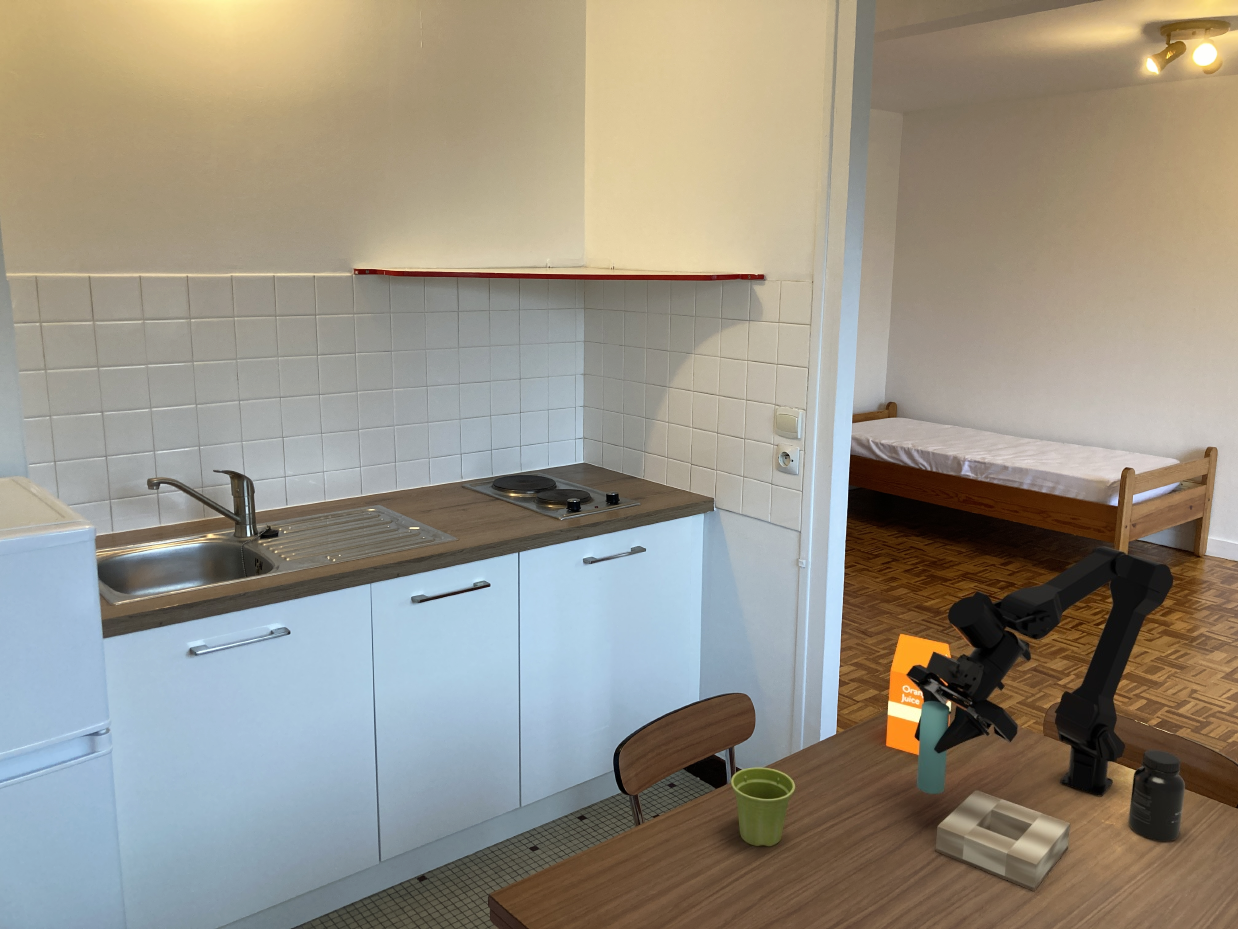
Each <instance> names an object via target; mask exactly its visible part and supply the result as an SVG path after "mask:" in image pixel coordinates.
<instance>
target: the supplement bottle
mask: <svg viewBox="0 0 1238 929" xmlns="http://www.w3.org/2000/svg"><path fill="white" fill-rule="evenodd" d="M1141 765H1142V766H1140V767H1138V768H1137V769H1136V770H1135V771H1134V773H1133V779H1132V785H1131V786H1132V788H1131V795H1130V796H1131V797H1130V805H1129V812H1128V814H1129V815H1128V824H1129V826H1130V828H1131V830H1133V831H1134V832H1135V833H1137V834H1138V835H1140V836H1142V837H1144V838H1147V839H1149V840H1152V841H1153V840H1154V841H1159V842H1170V841H1174V840H1176V839H1177V838H1178V837H1179V834H1180V829H1181V824H1182V822H1181V821H1182V817H1183V816H1182V815H1183V807H1184V799H1185V789H1186V784H1185V781H1184V779H1183V777H1182V776H1181V775H1180V771H1181V768H1180V767H1181V760H1180V758H1179V757H1178V756H1176V755H1174V754H1173V753H1171V752H1167V751H1163V750H1159V749H1149V750H1146V751H1145V752H1143V757H1142V761H1141Z"/></svg>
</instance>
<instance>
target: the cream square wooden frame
mask: <svg viewBox="0 0 1238 929" xmlns="http://www.w3.org/2000/svg"><path fill="white" fill-rule="evenodd" d="M1070 831H1071V823H1070V822H1067V821H1065V820H1062V819H1060V818H1057V817H1054V816H1050V815H1048V814H1045V813H1042V812H1040V811H1036V810H1034V809H1031V808H1028V807H1025V806H1022V805H1020V804H1016V803H1014V802H1011V801H1008V800H1006V799H1003V798H1001V797H997V796H993V795H992V794H988V793H985V792H982V791H980V790H977V789H976V790H975V791H973V792H972V793H971V794H970V795H969V796H968V797H967V798H966V799H965V800H964V801H963V802H961V804H960V805H958V806H957V807H956V808H955V809H954V810H953V811H952V812H951V813H950V814H949V815H948V816H947V817H946V818H945V819H944V820H942V821H941V822H940V823H939V824H938V825H937V828H936V841H935V852H936V853H940V854H942V855H944V856H945V857H946V856H947V857H948V858H951V859H954V860H957V861H958V862H961V863H964V864H966V865H968V866H971V867H973V868H975V867H976V869H977V870H980V869H982V870H981V871H983V872H986V873H988V872H989V873H988V874H990V875H993V876H995V877H998V878H1000V879H1003V880H1004V881H1005V880H1006V881H1007V880H1008V882H1010V883H1013V884H1015V885H1018V886H1020V887H1023V888H1026V889H1027V890H1030V891H1033V892H1034V891H1036V890H1037V888H1038V887H1039V885H1040V884H1041V883H1042V882H1043V880H1044V879H1045V878H1046V877H1047V876H1048V874H1049V873H1050V872H1051V870H1052V869H1053V868H1054V867H1055V865H1056V864H1057V863H1056V862H1059V860H1060V859H1061V857H1062V856H1064V854H1065V852H1067V850H1068V849H1069V838H1070Z"/></svg>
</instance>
